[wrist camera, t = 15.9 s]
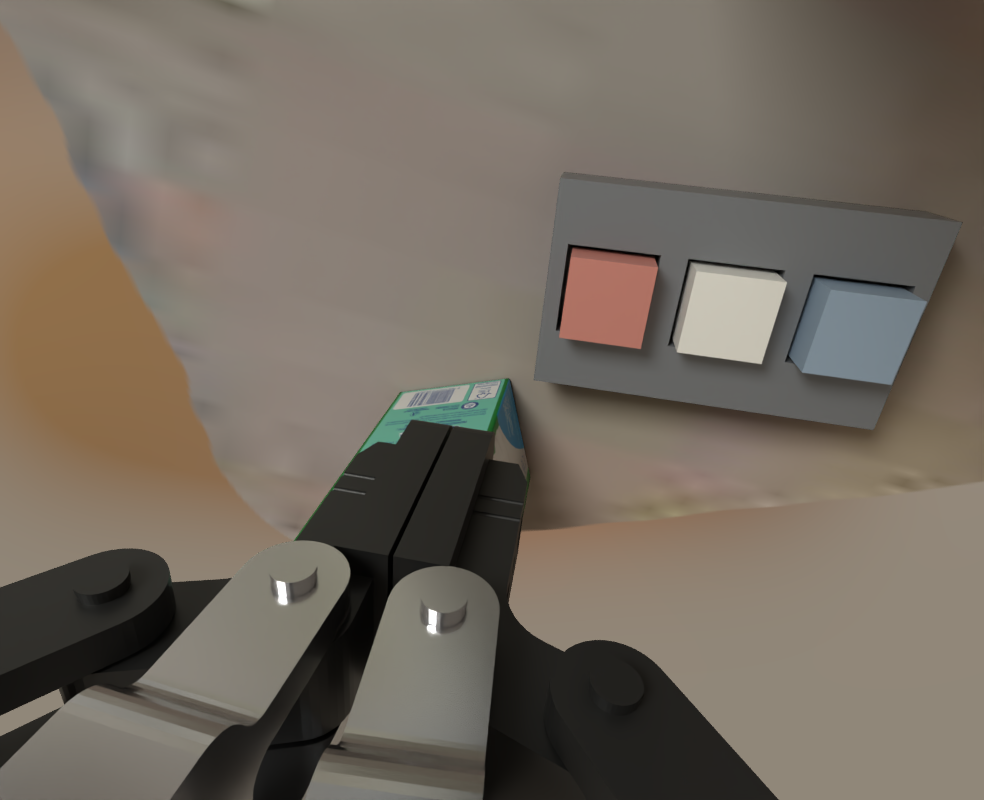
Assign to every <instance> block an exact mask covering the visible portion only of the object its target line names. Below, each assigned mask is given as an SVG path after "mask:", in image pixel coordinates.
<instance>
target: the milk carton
mask: <svg viewBox="0 0 984 800" xmlns="http://www.w3.org/2000/svg"><path fill="white" fill-rule="evenodd" d="M413 419H414V420H420V421H426V422H433V423H439V424H445V425H452V426H453V427H454V426H459V427H465V428H472V429H478V430H484V431H491V432H495V445H494V455H493V460H497V461H503V462H509V463H515V464H519V466H520V468H521V470H522V472H523V474H524V476H525V479H526V481H527V489H526V497H527V492H528V487H529V482H530V474H529V469H528V464H527V459H526V454H525V450H524V445H523V440H522V435H521V431H520V426H519V421H518V416H517V412H516V407H515V402H514V397H513V393H512V388H511V383H510V379H501V380H493V381H485V382H477V383H469V384H462V385H454V386H446V387H438V388H431V389H423V390H415V391H407V392H400V393H399V395H398V396H397V397H396V399H395V400H394V402H393V403H392V404H391V406H390V407H389V409H388V410H387V411H386V413H385V414H384V416H383V417H382V418H381V420H380V421H379V423H378V424H377V425H376V427H375V428H374V430H373V431H372V432H371V434H370V435H369V437H368V438H367V439H366V441H365V442H364V444H363V445H362V446H361V448H360V449H359V451H358V452H357V453H356V455H357V454H358V453H360V452H362V451H363V450H365V449H367V448H368V447H370V446H372V445H373V444H375V443H377V442H378V441H379V442H385V443H391V444H396V443H397V442H398V440H399V438H400V437H401V435H402V434H403V432H404V430H405V429H406V427H407V425H408V424H409V422H410V421H411V420H413ZM356 455H355V456H356ZM355 456H354V457H353V459H354V458H355ZM353 459H352V460H353ZM352 460H351V462H352ZM351 462H350V463H351ZM350 463H349V464H348V466H349V465H350ZM348 466H347V467H348ZM347 467H346V469H347ZM346 469H345V470H346ZM345 470H344V471H343V473H342V474H341V476H342V475H343V476H344V472H345ZM341 476H340V477H341ZM340 477H339V478H338V480H339V479H340ZM338 480H337V481H338ZM337 481H336V483H337ZM336 483H335V484H336ZM335 484H334V485H333V487H332V488H331V490H333V489H334V486H335ZM331 490H330V491H331ZM330 491H329V492H328V494H329V493H330ZM328 494H327V495H328ZM327 495H326V497H327ZM326 497H325V498H326ZM526 497H525V503H526ZM325 498H324V499H323V501H324V500H325ZM323 501H322V502H323ZM322 502H321V504H322ZM321 504H320V505H321ZM320 505H319V506H318V508H319V507H320ZM318 508H317V509H318ZM524 508H525V504H524ZM317 509H316V511H317ZM316 511H315V512H316ZM315 512H314V513H313V515H314V514H315ZM523 513H524V511H523ZM313 515H312V516H313ZM312 516H311V517H310V519H311V518H312ZM310 519H309V520H308V522H309V521H310ZM308 522H307V523H308ZM307 523H306V524H305V526H306V525H307ZM305 526H304V527H303V529H304V528H305ZM303 529H302V530H303ZM302 530H301V531H300V533H301V532H302ZM300 533H299V534H298V536H299V535H300ZM298 536H297V537H298ZM297 537H296V538H295V540H296V539H297ZM295 540H294V541H295Z"/></svg>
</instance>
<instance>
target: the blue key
mask: <svg viewBox="0 0 984 800" xmlns="http://www.w3.org/2000/svg"><path fill="white" fill-rule="evenodd" d="M926 303H927V301H925V300H923V299H921V298H920V297H918V296H916V295H914V294H913V293H911V292H909V291H907V290H906V289H904V288H902V287H894V286H886V285H878V284H870V283H862V282H853V281H845V280H837V279H829V278H821V277H813V280H812V283H811V286H810V289H809V292H808V295H807V298H806V301H805V304H804V307H803V310H802V313H801V316H800V319H799V322H798V325H797V328H796V331H795V334H794V337H793V340H792V343H791V346H790V349H789V352H788V355H789V357H790V358H791V359H792V360H793V362H794V363H795V364H796V365H797V367H798V368H799V369H800V371H801V372H802V373H809V374H816V375H824V376H831V377H838V378H845V379H852V380H860V381H867V382H874V383H881V384H888V385H892V383H893V380H894V378H895V376H896V373H897V371H898V369H899V366H900V364H901V362H902V359H903V357H904V355H905V352H906V350H907V348H908V345H909V343H910V341H911V338H912V336H913V334H914V331H915V329H916V327H917V324H918V322H919V320H920V317H921V315H922V313H923V310H924V308H925V306H926Z"/></svg>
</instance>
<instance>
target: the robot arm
mask: <svg viewBox="0 0 984 800" xmlns="http://www.w3.org/2000/svg"><path fill="white" fill-rule="evenodd" d="M494 445H495V432H491V431H484V430H478V429H472V428H465V427H459V426H454V427H453V426H452V425H445V424H439V423H433V422H426V421H420V420H414V419H413V420H411V421H410V422H409V424H408V425H407V427H406V429H405V430H404V432H403V434H402V435H401V437H400V438H399V440H398V442H397V443H396V444H391V443H385V442H379V441H378V442H377V443H375V444H373V445H372V446H370V447H368V448H367V449H365V450H363V451H362V452H360V453H358V454H357V455H356V456H355V458H354V459H353V460H352V462H351V463H350V465H349V466H348V467H347V469H346V470H345V472H344V476H343V475H342V476H341V477H340V479H339V480H338V481H337V483H336V484H335V486H334V489H333V490H331V491H330V493H329V494H328V495H327V497H326V498H325V500H324V501H323V502H322V504H321V505H320V507H319V508H318V509H317V511H316V512H315V514H314V515H313V516H312V518H311V519H310V521H309V522H308V523H307V525H306V526H305V528H304V529H303V530H302V532H301V533H300V535H299V536H298V537H297V539H296V540H295V541H291V542H286V543H282V544H278V545H275V546H272V547H270V548H267V549H265V550H263V551H262V552H260V553H258V554H257V555H255V556H254V557H252V558H251V559H250V560H249V561H248V562H247V563H246V564H245V565H244V566H243V567H242V568H241V569H240V570H239V571H238V572H237V573H236V575H235V576H234V577H233V578H228V579H220V580H203V581H186V582H172V581H171V576H170V571H169V568H168V565H167V563H166V562H165V560H164V559H163V558H161V557H160V556H159V555H157V554H155V553H153V552H150V551H146V550H142V549H117V550H110V551H105V552H101V553H98V554H94V555H91V556H88V557H85V558H82V559H80V560H77V561H74V562H71V563H68V564H66V565H63V566H60V567H57V568H54V569H51V570H48V571H46V572H43V573H40V574H37V575H34V576H31V577H29V578H26V579H24V580H20V581H18V582H15V583H12V584H9V585H6V586H3V587H1V588H0V715H3V714H5V713H7V712H9V711H11V710H13V709H15V708H18V707H20V706H22V705H24V704H26V703H28V702H31V701H33V700H35V699H37V698H39V697H41V696H44V695H46V694H48V693H50V692H52V691H54V690H57V689H59V691H60V694H61V696H62V699H63V702H64V706H62V707H61V708H59V709H57V710H54V711H52V712H50V713H48V714H46V715H44V716H42V717H40V718H38V719H36V720H33V721H31V722H29V723H27V724H25V725H23V726H21V727H19V728H17V729H15V730H13V731H11V732H8V733H6V734H4V735H2V736H0V800H778V799H777V797H776V796H775V795H774V794H773V793H772V792H771V791H770V790H769V789H768V787H766V785H765V784H764V783H763V782H762V781H761V780H760V779H759V777H758V776H757V775H756V774H755V773H754V772H753V771H752V770H751V769H750V768H749V766H748V765H747V764H746V763H745V762H744V761H743V760H742V759H741V758H740V756H739V755H738V754H737V753H736V752H735V751H734V750H733V749H732V747H730V745H729V744H728V743H727V742H726V741H725V740H724V739H723V737H722V736H721V735H720V734H719V733H718V732H717V731H716V730H715V729H714V727H713V726H712V725H711V724H710V723H709V722H708V721H707V720H706V718H705V717H704V716H703V715H702V714H701V713H700V712H699V711H698V710H697V708H696V707H695V706H694V705H693V704H692V703H691V702H690V701H689V700H688V698H687V697H686V696H685V695H684V694H683V693H682V692H681V691H680V690H679V688H678V687H677V686H676V685H675V684H674V683H673V682H672V681H671V679H670V678H669V677H668V676H667V675H666V674H665V673H664V672H663V671H662V670H661V668H659V667H658V666H657V665H656V664H655V663H654V662H653V661H652V660H651V659H649V658H648V657H647V656H645V655H644V654H642V653H641V652H639V651H637V650H636V649H633V648H631V647H629V646H626V645H624V644H620V643H617V642H612V641H605V640H594V641H585V642H582V643H579V644H576V645H574V646H572V647H570V648H568V649H567V650H566V651H565V652H563V651H561V650H559V649H557V648H555V647H553V646H551V645H549V644H547V643H545V642H543V641H542V640H540V639H538V638H536V637H535V636H533V635H532V634H531V633H530V632H528V631H527V630H526V629H525V628H524V627H523V626H522V625H521V624H520V623H519V622H518V621H517V619H516V618H515V617H514V615H513V613H512V611H511V609H510V607H509V604H508V602H509V597H510V591H511V586H512V580H513V575H514V570H515V564H516V559H517V554H518V547H519V540H520V533H521V526H522V518H523V511H524V504H525V497H526V489H527V481H526V479H525V476H524V474H523V472H522V470H521V468H520V466H519V464H515V463H509V462H503V461H497V460H493V455H494Z"/></svg>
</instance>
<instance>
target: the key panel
mask: <svg viewBox="0 0 984 800" xmlns="http://www.w3.org/2000/svg"><path fill="white" fill-rule="evenodd" d="M962 223H963V222H959V221H956V220H953V219H949V218H946V217H943V216H939V215H936V214H933V213H929V212H924V211H915V210H906V209H897V208H888V207H879V206H870V205H860V204H851V203H842V202H833V201H824V200H815V199H806V198H796V197H787V196H778V195H769V194H760V193H751V192H742V191H732V190H723V189H714V188H705V187H696V186H687V185H678V184H668V183H659V182H650V181H641V180H632V179H623V178H614V177H604V176H595V175H586V174H577V173H568V172H564V173H563V174H562V176H561V178H560V183H559V191H558V199H557V206H556V214H555V221H554V229H553V237H552V244H551V252H550V260H549V267H548V275H547V282H546V290H545V298H544V305H543V313H542V320H541V328H540V336H539V343H538V351H537V359H536V366H535V374H534V380H537V381H544V382H551V383H557V384H564V385H571V386H578V387H584V388H591V389H598V390H605V391H612V392H618V393H625V394H632V395H639V396H646V397H652V398H659V399H666V400H673V401H679V402H686V403H693V404H700V405H707V406H713V407H720V408H727V409H734V410H741V411H747V412H754V413H761V414H768V415H774V416H781V417H788V418H795V419H802V420H808V421H815V422H822V423H829V424H836V425H842V426H849V427H856V428H863V429H869V430H874V428H875V425H876V423H877V421H878V418H879V416H880V414H881V411H882V409H883V407H884V404H885V402H886V400H887V397H888V395H889V393H890V390H891V388H892V386H893V383H894V381H895V379H896V376H897V374H898V372H899V369H900V367H901V365H902V362H903V360H904V358H905V356H906V353H907V351H908V349H909V346H910V344H911V342H912V339H913V337H914V335H915V332H916V330H917V328H918V325H919V323H920V321H921V318H922V316H923V314H924V311H925V309H926V307H927V304H928V302H929V300H930V297H931V295H932V293H933V290H934V288H935V286H936V283H937V281H938V279H939V276H940V274H941V272H942V269H943V267H944V265H945V262H946V260H947V258H948V255H949V253H950V251H951V248H952V246H953V244H954V241H955V239H956V237H957V235H958V232H959V230H960V228H961V225H962ZM573 247H581V248H589V249H597V250H605V251H613V252H622V253H630V254H638V255H646V256H654V258H655V261H656V263H657V266H658V271H657V275H656V280H655V285H654V289H653V294H652V299H651V303H650V308H649V313H648V317H647V322H646V327H645V331H644V336H643V341H642V345H641V349H637V348H630V347H623V346H615V345H608V344H601V343H594V342H587V341H580V340H572V339H565V338H559V334H560V327H561V320H562V314H563V307H564V300H565V293H566V286H567V280H568V273H569V266H570V259H571V254H572V249H573ZM689 260H695V261H703V262H711V263H720V264H728V265H736V266H744V267H752V268H760V269H769V270H774V271H775V272H776V273H777V274H778V275H779V276H781V277H782V278H783V279H784V280H785V281H786V282H787V285H786V288H785V291H784V294H783V297H782V301H781V304H780V307H779V310H778V313H777V316H776V320H775V323H774V326H773V329H772V332H771V336H770V339H769V342H768V345H767V348H766V351H765V355H764V358H763V361H762V364H757V363H750V362H743V361H736V360H729V359H721V358H714V357H707V356H700V355H693V354H685V353H678V352H677V351H676V348H675V345H674V342H673V339H672V332H673V328H674V323H675V319H676V315H677V311H678V307H679V302H680V298H681V294H682V290H683V285H684V281H685V277H686V273H687V269H688V264H689ZM813 277H821V278H829V279H837V280H845V281H853V282H862V283H870V284H878V285H886V286H894V287H902V288H904V289H906V290H907V291H909V292H911V293H913V294H914V295H916V296H918V297H920V298H921V299H923V300H925V301H927V303H926V306H925V308H924V310H923V313H922V315H921V317H920V320H919V322H918V324H917V327H916V329H915V331H914V334H913V336H912V338H911V341H910V343H909V345H908V348H907V350H906V352H905V355H904V357H903V359H902V362H901V364H900V366H899V369H898V371H897V373H896V376H895V378H894V380H893V383H892V385H888V384H881V383H874V382H867V381H860V380H852V379H845V378H838V377H831V376H824V375H816V374H809V373H802V372H801V371H800V369H799V368H798V367H797V365H796V364H795V363H794V362H793V360H792V359H791V358H790V357H789V355H788V352H789V349H790V346H791V343H792V340H793V337H794V334H795V331H796V328H797V325H798V322H799V319H800V316H801V313H802V310H803V307H804V304H805V301H806V298H807V295H808V292H809V289H810V286H811V283H812V280H813Z"/></svg>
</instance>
